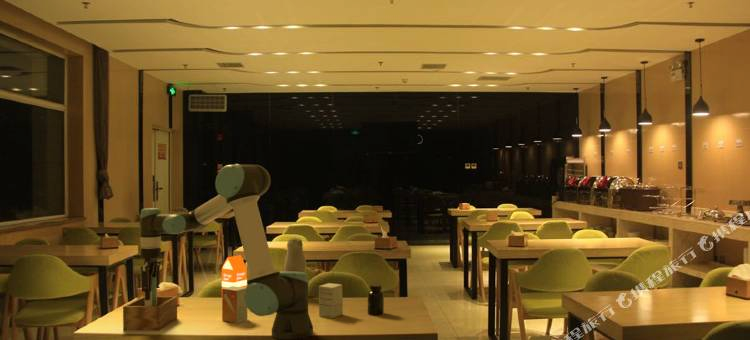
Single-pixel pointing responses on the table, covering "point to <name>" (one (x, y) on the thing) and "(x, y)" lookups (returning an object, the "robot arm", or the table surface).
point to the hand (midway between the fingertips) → (150, 306)
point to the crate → (150, 314)
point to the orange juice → (234, 272)
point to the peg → (153, 291)
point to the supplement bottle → (375, 300)
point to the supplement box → (330, 300)
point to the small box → (233, 304)
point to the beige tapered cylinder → (295, 256)
